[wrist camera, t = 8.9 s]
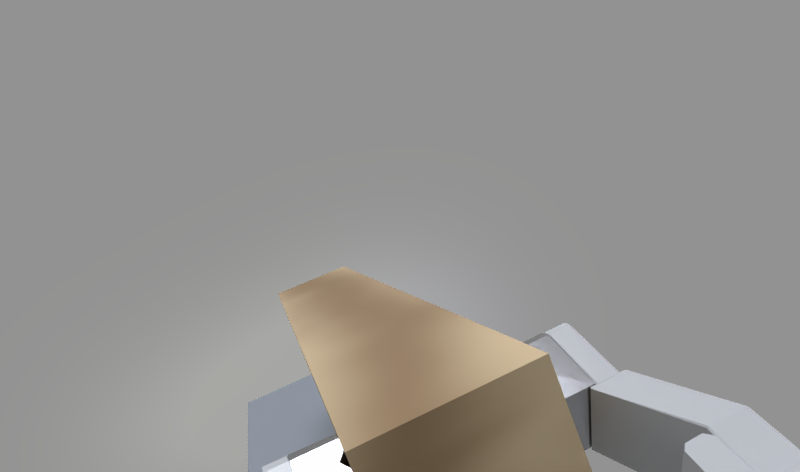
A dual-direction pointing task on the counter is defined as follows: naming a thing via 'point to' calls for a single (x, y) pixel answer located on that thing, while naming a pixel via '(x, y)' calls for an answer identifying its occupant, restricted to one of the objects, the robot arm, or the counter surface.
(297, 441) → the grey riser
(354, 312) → the oak slat
